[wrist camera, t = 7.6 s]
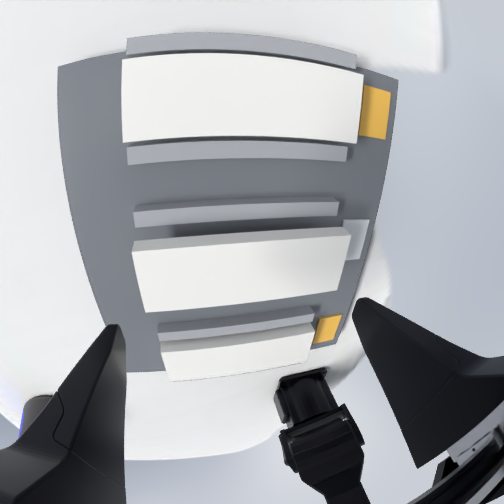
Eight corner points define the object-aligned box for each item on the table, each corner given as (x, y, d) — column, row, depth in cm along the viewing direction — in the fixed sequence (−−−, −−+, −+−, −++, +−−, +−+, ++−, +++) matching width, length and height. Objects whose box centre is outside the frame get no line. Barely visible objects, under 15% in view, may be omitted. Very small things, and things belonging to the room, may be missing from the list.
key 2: (352, 75, 14) (363, 74, 13) (346, 139, 16) (356, 143, 15) (126, 62, 11) (122, 59, 10) (127, 139, 13) (122, 142, 12)
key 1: (310, 322, 24) (315, 331, 23) (301, 352, 26) (305, 361, 25) (160, 341, 21) (160, 352, 20) (169, 371, 23) (169, 381, 22)
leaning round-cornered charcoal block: (34, 383, 24) (23, 444, 16) (64, 398, 26) (57, 459, 19) (19, 413, 27) (12, 458, 19) (40, 424, 30) (36, 469, 22)
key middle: (342, 226, 18) (351, 235, 17) (329, 280, 20) (336, 290, 19) (134, 241, 15) (131, 251, 14) (146, 300, 17) (145, 312, 16)
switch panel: (386, 72, 16) (407, 73, 14) (329, 337, 30) (338, 353, 28) (67, 60, 11) (51, 56, 9) (128, 364, 25) (127, 383, 23)
